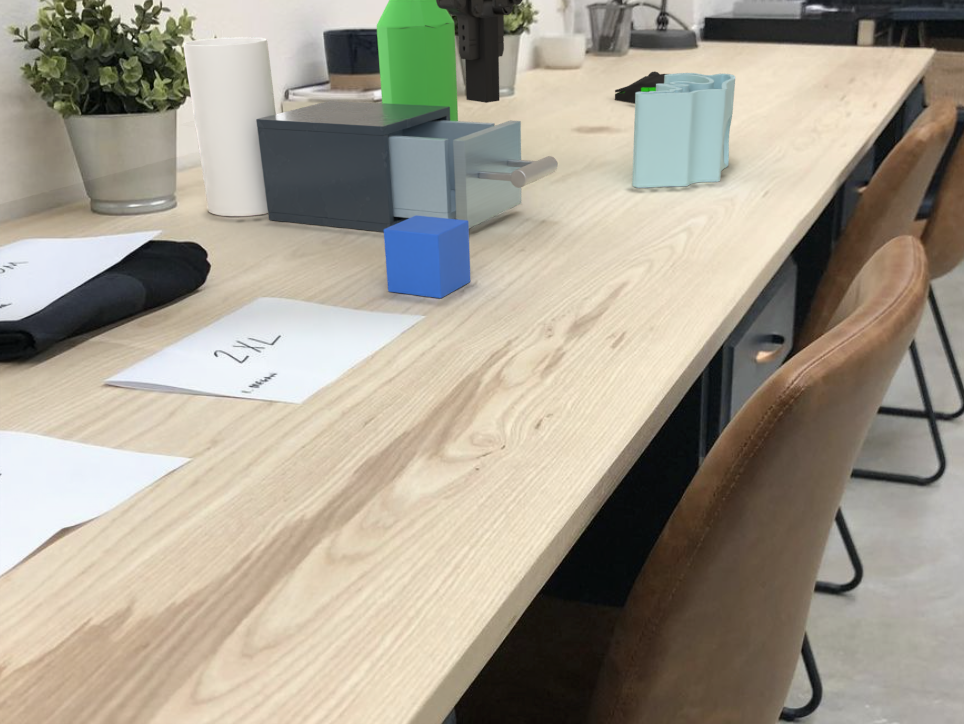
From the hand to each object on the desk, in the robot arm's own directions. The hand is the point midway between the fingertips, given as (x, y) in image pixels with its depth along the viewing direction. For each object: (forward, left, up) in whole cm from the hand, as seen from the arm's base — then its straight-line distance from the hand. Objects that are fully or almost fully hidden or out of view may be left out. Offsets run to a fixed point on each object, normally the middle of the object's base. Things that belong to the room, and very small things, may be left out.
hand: (482, 100), depth 96 cm
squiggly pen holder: (+6, +37, -12) cm, 39 cm away
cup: (-31, +4, -12) cm, 33 cm away
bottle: (-24, +29, -12) cm, 39 cm away
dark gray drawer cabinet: (-18, +6, -12) cm, 23 cm away
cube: (+2, -14, -12) cm, 19 cm away
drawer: (-7, +6, -11) cm, 15 cm away
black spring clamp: (-15, +88, -12) cm, 90 cm away
